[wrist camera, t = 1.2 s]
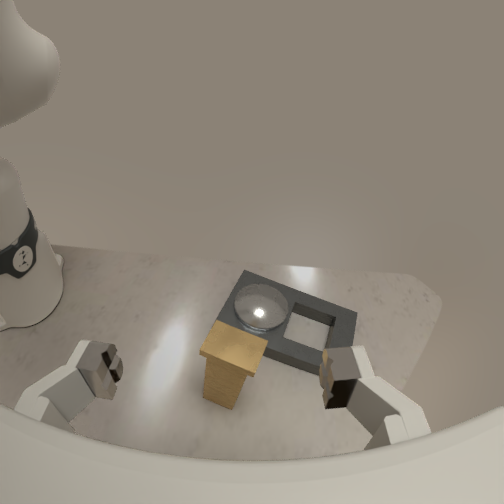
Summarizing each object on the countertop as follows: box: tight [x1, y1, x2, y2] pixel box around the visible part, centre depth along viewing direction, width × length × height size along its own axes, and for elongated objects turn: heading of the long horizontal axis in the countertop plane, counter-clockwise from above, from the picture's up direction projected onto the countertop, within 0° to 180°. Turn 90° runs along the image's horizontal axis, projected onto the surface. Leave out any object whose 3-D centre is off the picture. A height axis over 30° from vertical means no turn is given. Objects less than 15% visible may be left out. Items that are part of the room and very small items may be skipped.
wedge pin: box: [199, 320, 268, 410], centre depth 30 cm, size 5×4×14 cm
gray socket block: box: [213, 270, 357, 375], centre depth 43 cm, size 20×12×3 cm, turn 69°
